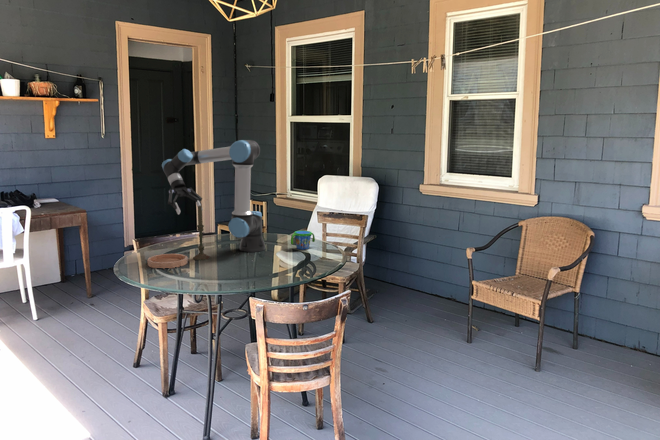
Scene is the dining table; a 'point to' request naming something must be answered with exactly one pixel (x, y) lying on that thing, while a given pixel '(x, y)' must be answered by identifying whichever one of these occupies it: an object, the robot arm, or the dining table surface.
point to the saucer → (167, 261)
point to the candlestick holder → (200, 237)
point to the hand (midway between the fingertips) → (190, 212)
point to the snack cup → (302, 239)
